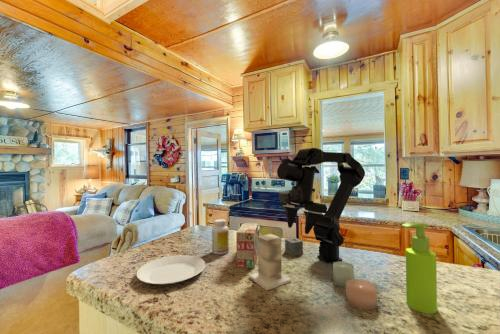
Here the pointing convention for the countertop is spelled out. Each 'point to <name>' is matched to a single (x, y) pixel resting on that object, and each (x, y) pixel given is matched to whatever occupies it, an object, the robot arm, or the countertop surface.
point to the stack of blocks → (247, 245)
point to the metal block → (269, 257)
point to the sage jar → (342, 273)
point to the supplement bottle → (220, 237)
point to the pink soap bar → (361, 294)
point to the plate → (171, 269)
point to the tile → (271, 284)
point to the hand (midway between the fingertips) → (297, 230)
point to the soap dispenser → (421, 272)
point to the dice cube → (293, 246)
